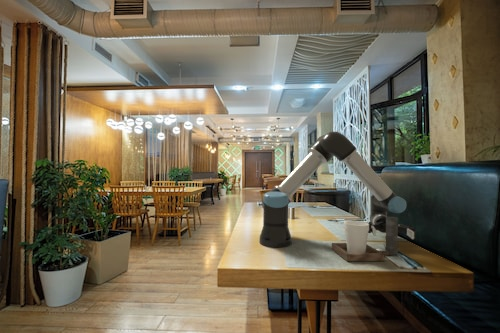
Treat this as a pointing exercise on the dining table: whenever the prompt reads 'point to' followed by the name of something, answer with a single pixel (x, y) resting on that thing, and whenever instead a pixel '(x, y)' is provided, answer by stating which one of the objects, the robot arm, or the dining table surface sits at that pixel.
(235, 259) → the dining table surface
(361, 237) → the foam cup
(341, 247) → the sliding frame
